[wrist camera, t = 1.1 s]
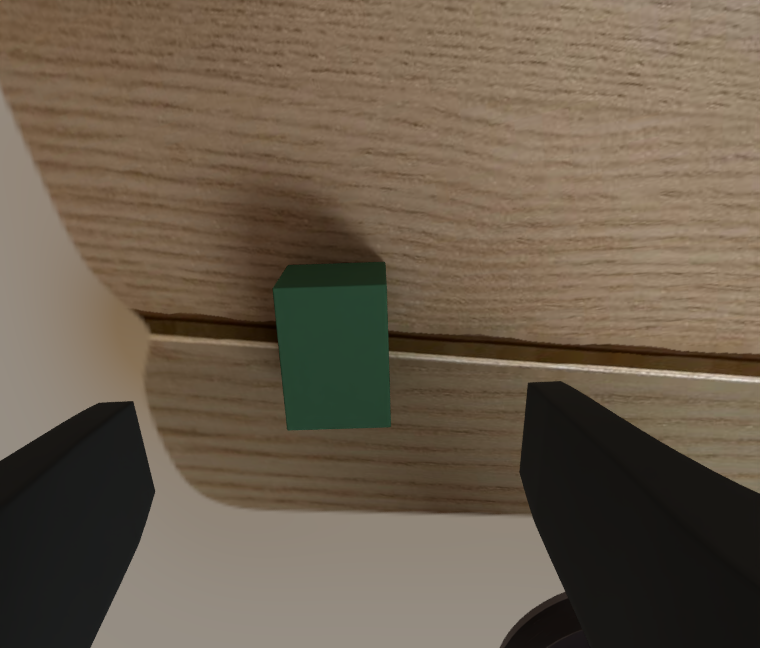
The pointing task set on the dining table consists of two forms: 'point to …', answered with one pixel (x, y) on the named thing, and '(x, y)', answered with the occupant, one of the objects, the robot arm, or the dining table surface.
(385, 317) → the green rectangular block
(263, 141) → the dining table surface
